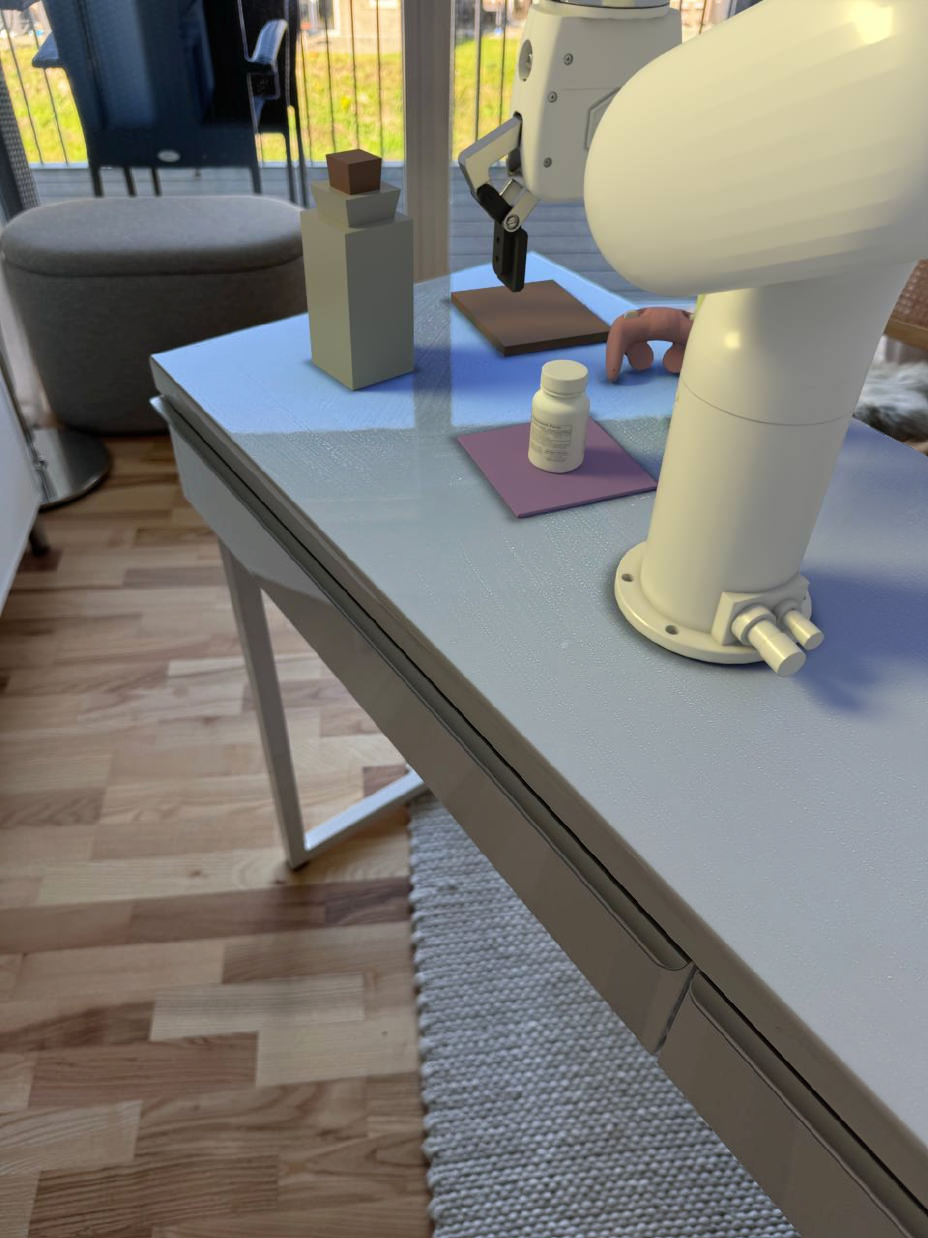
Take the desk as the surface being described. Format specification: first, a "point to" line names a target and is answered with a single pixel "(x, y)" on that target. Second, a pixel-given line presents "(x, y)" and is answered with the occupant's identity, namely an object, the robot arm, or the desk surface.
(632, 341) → the video game controller
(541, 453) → the pill bottle
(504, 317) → the board
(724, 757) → the desk surface
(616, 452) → the purple square plate
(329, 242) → the perfume bottle
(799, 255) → the robot arm
